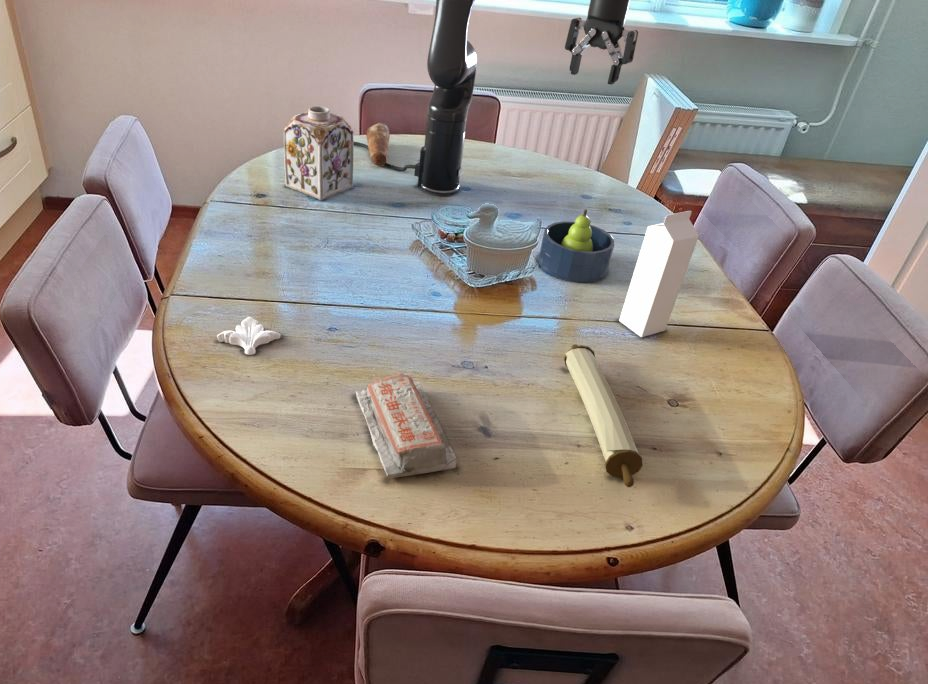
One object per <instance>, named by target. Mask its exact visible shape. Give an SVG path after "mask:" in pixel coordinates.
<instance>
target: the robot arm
mask: <svg viewBox="0 0 928 684" xmlns="http://www.w3.org/2000/svg"><path fill="white" fill-rule="evenodd" d="M435 1H436V2H435V13H434V22H433V26H432V32H431V38H430V44H429V49H428V54H427V61H426V68H427V73H428V76H429V78H430V80H431V82H432V83H433V85H434V87H433V91H432V94H431V96H430V98H429V101H428V103H427V110H426V124H425V135H424V145H423V146H422V147H420V153H419V162H417V163H415V164H405V165H404V166H397V165H394V164H391V163H388V162H386V164H385V165H383V166H382V167H385V168H387V169H391V170H395V171H399V172H405V171H407V170H409V169H411V170H414V172H413V173H414V174H413V176H414V177H416V178H417V187H418V188H421V189H422V190H423V191H424V192H426V193H429V194H432V195H440V196H449V195H454V194H457V192H459V189H460V178H461V174H462V172H463V167H462V162H463V154H464V146H465V137H466V129H467V120H468V114H469V109H470V107H471V104H472V101H473V95H474V88H475V81H476V76H477V75H476V74H477V68H478V67H477V66H478V57H477V53H476V49H475V48H474V46H473V44H472V43H471V42H470V41H469V40H468V39H467V38H468V28H469V21H470V17H471V12H472V9H473V6H474V3H475V0H435ZM630 3H631V0H590V1H589V5H588V11H587V17H586V19H585V20H584V19H582V17H575V18H572V19H570V24H569V28H568V31H567V32H568V33H567V37H566V41H565V44H564V49H565V50H566V51H569V52H570V53H571V57H570V58H571V59H570V64H569V71H570V75H572V76H576V75H578V74H579V71H580V66H581V62H582V57H583V55H582V53H583V52H584V51H585V50H586V49H587V48H589V46H590V47H592V48H598V49H600V50H607V53H608V55H609V56H610V58H611V60H612V65H611V67H610V71H609V74H608V79H607V85H610V86H612V85H614V84H615V83H616V82H618V81H619V79H620V74H621V70H622V66H623V65H628V64H631V63H632V62H633V61H634V57H635V51H636V46H637V40H638V36H639V31H638V30H637V29H633V30H629V29H625V23H626V19H627V15H628V11H629V6H630ZM582 29H583V31H584V34H585V36H584V37H583V38H582V39H580V41H579V42H578V44H577V41H578V38H579V34H580V31H582ZM622 37H623V41H624V42H625V45H624V50H623V53H622V47H621V44H620V41H619V40H621V38H622ZM353 142H354V146H357V147H360V148H364V149H366V150H367V151H369V148H368V144H366V143H363V142H358V141H353Z"/></svg>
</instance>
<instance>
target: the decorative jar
mask: <svg viewBox="0 0 928 684" xmlns="http://www.w3.org/2000/svg"><path fill="white" fill-rule="evenodd" d="M354 133H355V132H354V130H353V129H352V126H351V125H350V124H349V122H347V121H346V119H345V118H344V116H342V115H339V114H336V113H333V112H330V109H329V108H328V107H326V106H321V105H312V106H310V107H308V109H307V111H304V112H300V113H298V114H295V115H294V116H293V117H292V118H291V119H290V120H289V122H288V123H287V124H286V125H285V127H284V128H283V157H284V158H283V159H284V160H283V162H284V165H283V166H284V181H285V182H284V183H285V187H287V188H289V189H292V190H294V191H296V192H300V193H302V194H304V195H307V196H308V197H312V198H314V199H317V200H319V201H323V200H326V199H328V198H330V197H333V196H335V195H337V194H339V193H343V192H344V191H347V190H349V189H351V188H353V185H354V149H355V148H354V146H355V145H354V142H355V141H354ZM353 141H354V142H353Z"/></svg>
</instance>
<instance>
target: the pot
mask: <svg viewBox="0 0 928 684" xmlns="http://www.w3.org/2000/svg"><path fill="white" fill-rule="evenodd" d="M573 224H575V221H571V220H570V221H568V220H567V221H566V220H565V221H563V220H562V221H557V222H554V223H553V222H552V223H551V224H548V225H547V226H546V227H545V228H544V231H543V235H542V240H541V245H540V248H539V249H540V250H539V255H538V264H539V266H540V267H541V269H542V270H543V271H545V272H546V273H547V274H549V275H551V276H552V277H555V278H557V279H560V280H564V281H568V282H572V283H593V282H597V281H599V280H601V279H603V278H605V276H606V275H607V272H608V270H609V267H610V263H611V259H612V256H613V252H614V249H615V244H616V243H615V238H614V237H613V236H612V235H611V234H610V233H609V232H607V231H606V230H604V229H603V228H600V227H599V226H596V225H592V224H590V228H591V230H592V236H591V241H592V244H593V250H592V252H585V251H579V250H573V249H570V248H567V247H564V246H562V245H561V243H562V241H563V239H564V238H565V237H566V236H567V235H568V232H569V229H570V227H571V226H572V225H573Z"/></svg>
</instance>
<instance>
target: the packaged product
mask: <svg viewBox="0 0 928 684" xmlns="http://www.w3.org/2000/svg"><path fill="white" fill-rule="evenodd" d="M355 393H356V400H357V402H358V404H359V407H360V410H361V412H362V414H363V416H364V419H365V421H366V425H367V428H368V430H369V433H370V437H371V440H372V445H373V447H374V448H375V450H376V452H377V454H378V457H379V461H380V463H381V465H382V468H383V469H384V472H385V474H386V477H387V479H388V480H389V479H390V480H391V479H395V478H396V479H397V478H403V477H409V476H416V475H421V474H427V473H434V472H439V471H447V470H452V469H456V466H457V461H458V457H456V455H455V452H454V451H453V449H452V446H451V444H450V442H449V440H448V438H447V436H446V435H445V432H444V430H443V427H442V426H441V423H440V422H439V420H438V418H437V415H436V413H435V411H434V410H433V407H432V406H431V403H430V402H429V399H428V397H427V395H426V393H425V391H424V389H423V387H422V385H421V383H420V381H419V380H417V381H416V380H415V381H414V380H413V378H412V376H411V374H408V373H402V372H399V373H393V374H391V375H389V376H386V377H383V378H381V379H380V378H379V379H376V380H374V381H372V382H369V384H368V385H367V388H366V389H365V388H363V389H362V390H355Z"/></svg>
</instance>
